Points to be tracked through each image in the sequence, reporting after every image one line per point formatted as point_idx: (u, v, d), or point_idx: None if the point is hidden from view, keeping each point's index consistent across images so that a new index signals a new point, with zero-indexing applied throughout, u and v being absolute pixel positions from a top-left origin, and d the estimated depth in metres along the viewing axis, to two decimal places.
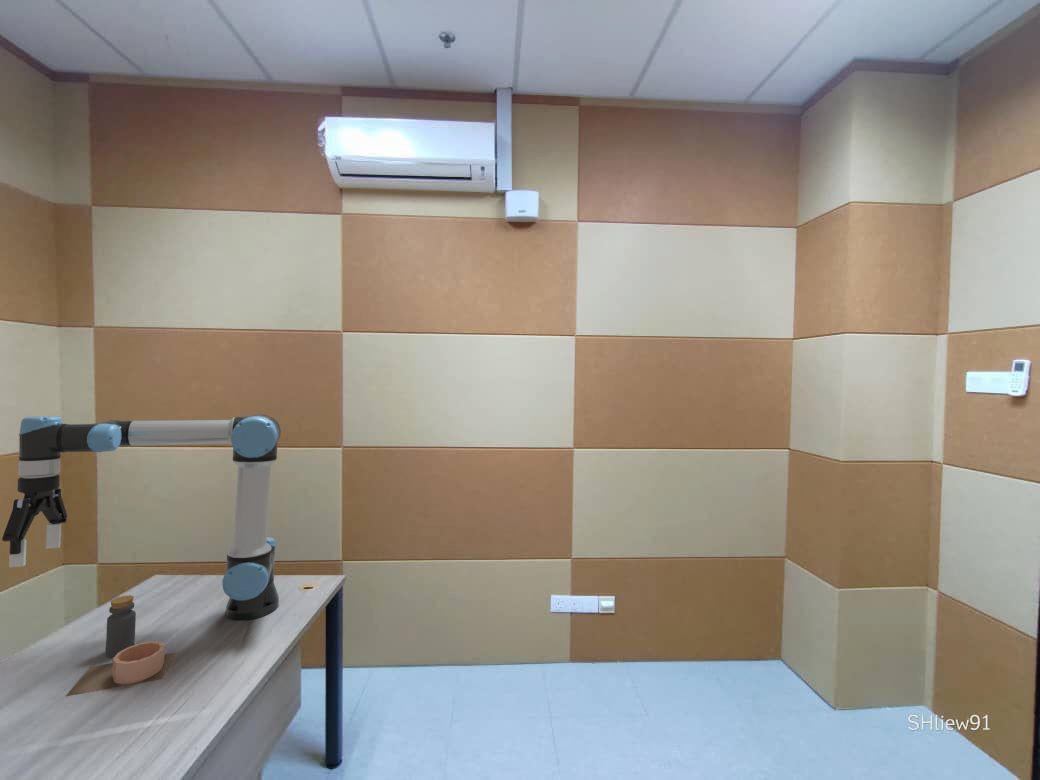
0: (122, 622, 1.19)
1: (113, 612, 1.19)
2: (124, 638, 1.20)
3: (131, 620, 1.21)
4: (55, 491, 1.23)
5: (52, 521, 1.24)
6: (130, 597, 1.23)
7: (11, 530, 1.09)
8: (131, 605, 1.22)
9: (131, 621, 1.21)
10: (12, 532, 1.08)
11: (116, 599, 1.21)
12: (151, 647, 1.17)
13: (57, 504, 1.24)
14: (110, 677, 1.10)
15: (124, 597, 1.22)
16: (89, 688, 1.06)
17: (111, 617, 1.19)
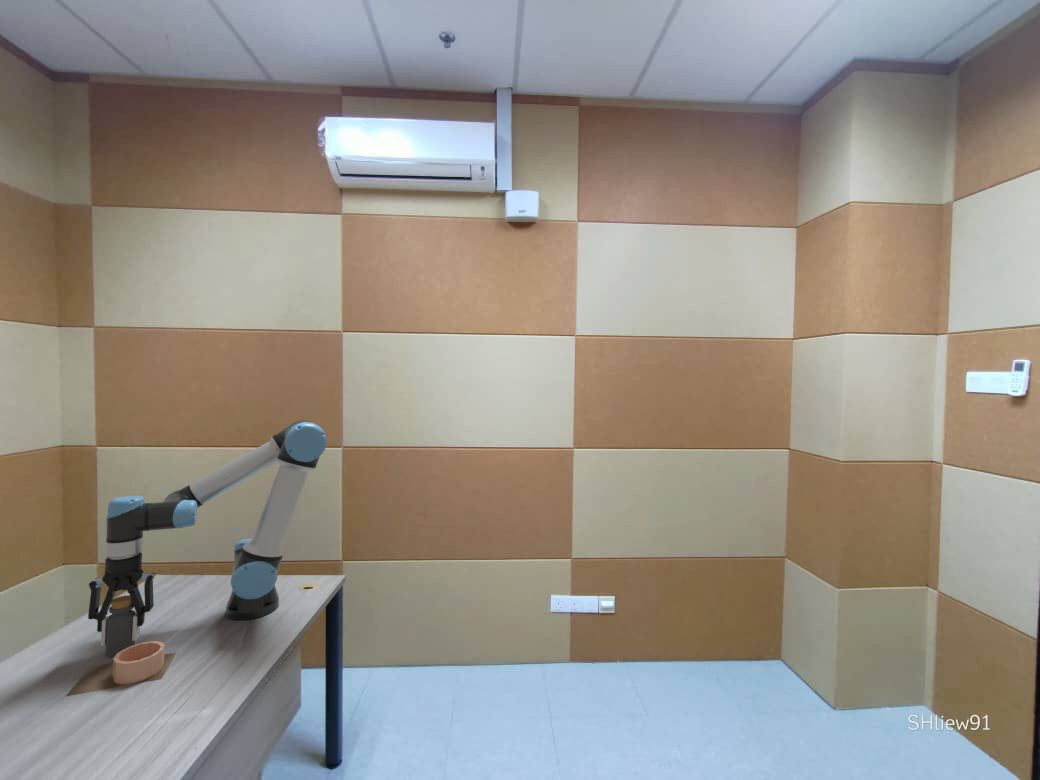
0: (122, 622, 1.19)
1: (113, 612, 1.19)
2: (124, 638, 1.20)
3: (131, 620, 1.21)
4: (147, 576, 1.23)
5: None
6: (130, 597, 1.23)
7: None
8: (131, 605, 1.22)
9: (131, 621, 1.21)
10: None
11: (116, 599, 1.21)
12: (151, 647, 1.17)
13: None
14: (110, 677, 1.10)
15: (124, 597, 1.22)
16: (89, 688, 1.06)
17: (111, 617, 1.19)
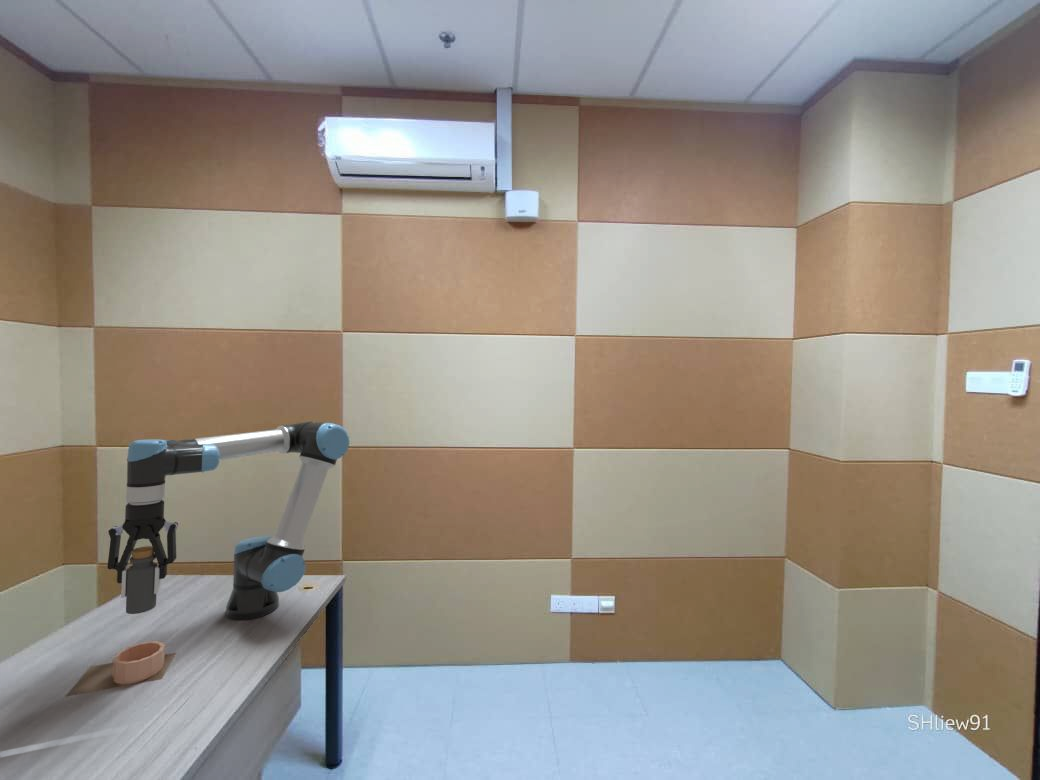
0: (143, 573, 1.11)
1: (134, 562, 1.10)
2: (146, 591, 1.11)
3: (153, 571, 1.13)
4: (170, 525, 1.15)
5: None
6: (152, 547, 1.14)
7: None
8: (153, 556, 1.13)
9: (153, 573, 1.13)
10: None
11: (137, 549, 1.13)
12: (151, 647, 1.17)
13: None
14: (110, 677, 1.10)
15: (145, 547, 1.14)
16: (89, 688, 1.06)
17: (132, 567, 1.11)
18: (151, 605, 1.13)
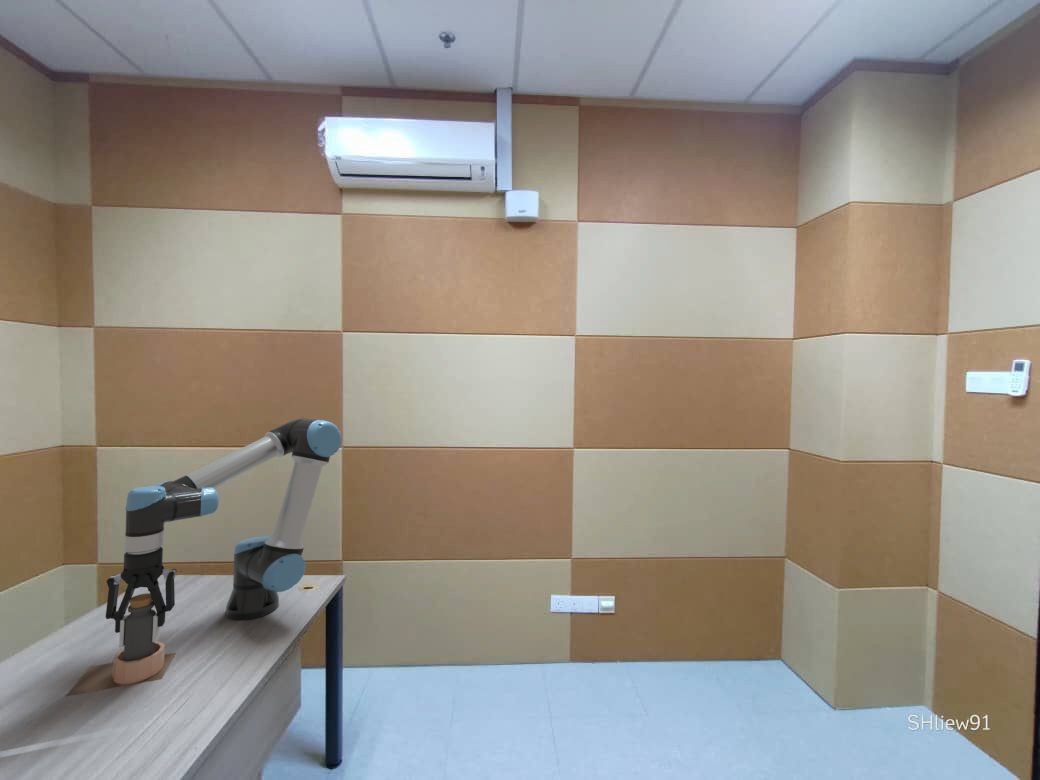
0: (141, 622, 1.11)
1: (132, 611, 1.10)
2: (144, 640, 1.11)
3: (151, 620, 1.12)
4: (169, 573, 1.15)
5: None
6: (150, 595, 1.14)
7: None
8: (151, 604, 1.13)
9: (151, 621, 1.13)
10: None
11: (135, 597, 1.12)
12: None
13: None
14: (110, 677, 1.10)
15: (143, 595, 1.14)
16: (89, 688, 1.06)
17: (130, 617, 1.11)
18: (149, 654, 1.12)
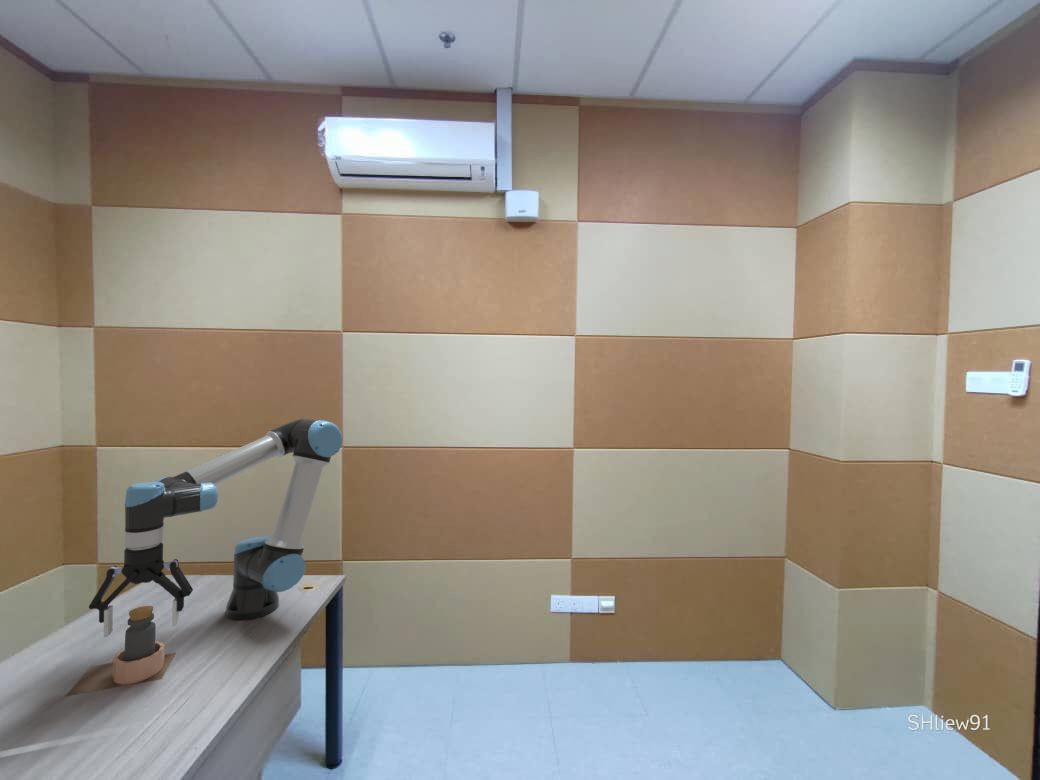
0: (141, 635, 1.11)
1: (132, 624, 1.10)
2: (144, 652, 1.11)
3: (151, 632, 1.13)
4: (170, 564, 1.15)
5: None
6: (149, 608, 1.14)
7: (95, 597, 1.09)
8: (151, 616, 1.13)
9: (151, 634, 1.13)
10: None
11: (135, 610, 1.13)
12: None
13: None
14: (110, 677, 1.10)
15: (143, 608, 1.14)
16: (89, 688, 1.06)
17: (130, 630, 1.11)
18: None
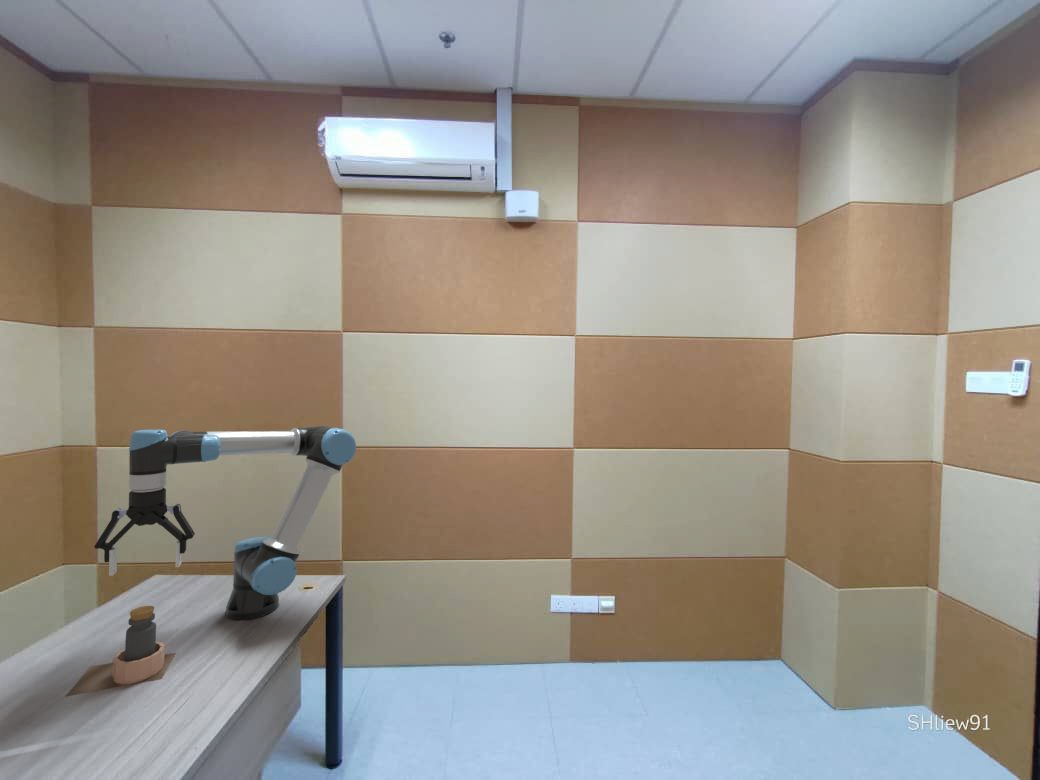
0: (142, 635, 1.11)
1: (133, 624, 1.10)
2: (144, 652, 1.11)
3: (151, 632, 1.13)
4: None
5: None
6: (150, 608, 1.14)
7: None
8: (152, 616, 1.13)
9: (152, 634, 1.13)
10: None
11: (136, 610, 1.13)
12: None
13: None
14: (110, 677, 1.10)
15: (144, 608, 1.14)
16: (89, 688, 1.06)
17: (130, 629, 1.11)
18: None
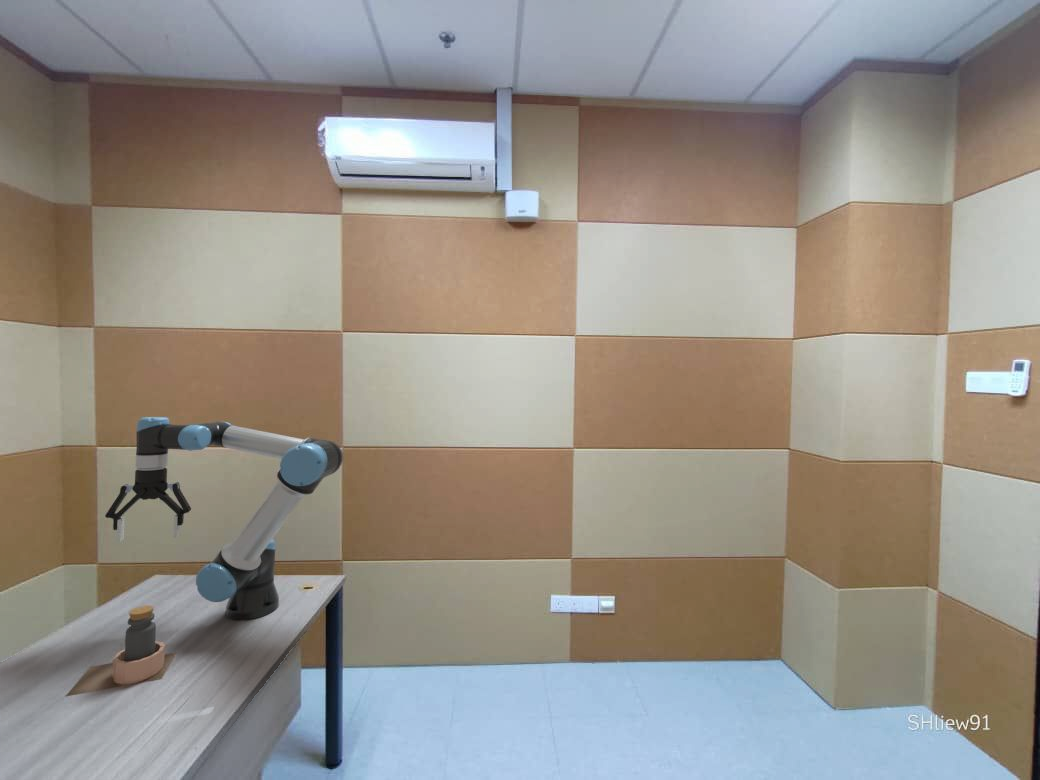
0: (141, 634, 1.11)
1: (132, 624, 1.10)
2: (144, 652, 1.11)
3: (151, 632, 1.13)
4: None
5: None
6: (150, 607, 1.14)
7: None
8: (151, 616, 1.13)
9: (151, 634, 1.13)
10: None
11: (135, 610, 1.13)
12: None
13: None
14: (110, 677, 1.10)
15: (143, 607, 1.14)
16: (89, 688, 1.06)
17: (130, 629, 1.11)
18: None
